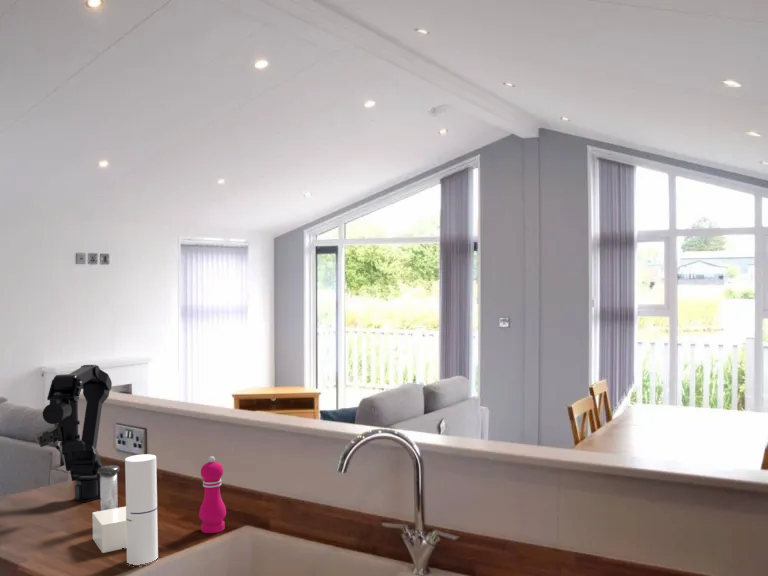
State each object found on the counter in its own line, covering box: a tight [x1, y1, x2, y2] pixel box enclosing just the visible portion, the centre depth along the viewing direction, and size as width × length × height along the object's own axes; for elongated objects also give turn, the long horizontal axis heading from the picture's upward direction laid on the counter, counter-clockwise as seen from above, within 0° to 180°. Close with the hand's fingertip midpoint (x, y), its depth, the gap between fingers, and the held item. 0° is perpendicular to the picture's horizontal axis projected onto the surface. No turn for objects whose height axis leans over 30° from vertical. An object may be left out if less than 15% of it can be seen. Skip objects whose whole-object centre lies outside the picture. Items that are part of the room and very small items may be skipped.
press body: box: [91, 505, 127, 554], centre depth 184 cm, size 12×12×7 cm
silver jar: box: [98, 465, 120, 511], centre depth 192 cm, size 15×6×16 cm, turn 33°
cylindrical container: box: [124, 453, 159, 565], centre depth 170 cm, size 7×7×25 cm
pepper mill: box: [198, 455, 227, 534], centre depth 191 cm, size 7×7×20 cm
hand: (68, 470), depth 206 cm, fingers closed
